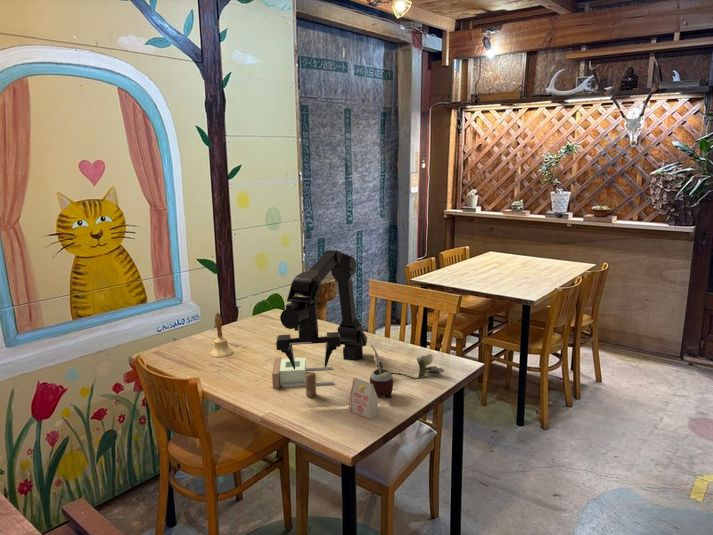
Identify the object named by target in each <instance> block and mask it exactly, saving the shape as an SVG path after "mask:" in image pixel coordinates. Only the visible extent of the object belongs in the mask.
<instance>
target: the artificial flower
mask: <svg viewBox="0 0 713 535" xmlns="http://www.w3.org/2000/svg"><path fill="white" fill-rule="evenodd" d="M433 361H434V359H433V355H432V353H430V354H427V355H426V354H425V355H422V356H421V357H416V362H417V364H418V367H419V370H418V371H419V372H418V376H417V377H414V376H411V375H407V374H403V373H400V372H399V373H397V372H393V371H390V372H391V374H392V375H397V376H404V377H407V378H410V379H413V380H419V379H421V378H423V377H425V376H426V373H427V372H428V371H429V372H434V371H435V372H436V373H443V372H444V371H445V370H444V369H443V368H442V367H438V366H435V365H432V366H430V365H431V364H433ZM379 364H380V369H384V368H383V363H382V361H379ZM376 368H377V369H379V368H378V363H377V362H376Z"/></svg>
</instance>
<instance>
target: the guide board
mask: <svg viewBox="0 0 713 535" xmlns="http://www.w3.org/2000/svg"><path fill="white" fill-rule="evenodd" d="M281 359H282V357H275V358H274V361H273V362H274V363H273V368H272V372H271V377H272V378H271V379H272V389H280V387H281V386H280V373H279V370H280V364H281ZM328 370H329V371H330V370H331V371H332V370H333V366H331V365H329V366H328V365H327V366H326V368H325V366H314V367H311V366H310V367H306V372H312V371H328ZM334 383H335V382H334V380H328V381H327V380H326V381H325V380H324V381H316V387H317V386H329V385H331V386H333V385H334ZM297 387H299V388H301V387H306V383H291V384H283V386H282V388H283V389H284V388H285V389H286V388H297Z"/></svg>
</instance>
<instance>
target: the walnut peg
mask: <svg viewBox="0 0 713 535" xmlns="http://www.w3.org/2000/svg"><path fill="white" fill-rule="evenodd" d="M305 380H306V386H305V395H306V398H308V399H313V398H314V399H315V398H316V397H317V386H316V382H317V381H316V380H317V379H316V373H315V372H312V371H308V372H306V374H305Z"/></svg>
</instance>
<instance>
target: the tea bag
mask: <svg viewBox="0 0 713 535" xmlns="http://www.w3.org/2000/svg"><path fill="white" fill-rule="evenodd" d="M349 394H350V396H349V397H350V398H349V399H350V400H349V401H350V413H351V414H353V415H356V416H359V417H361V418H363V419H366V420H369V421H370V420H372V419H373V418H374V417H377V416H378V395H377V394H376V392H375V389H374V386H373V384H371V383H370V382H367V381H365V380H361V379H358V378H355V377H354V378H353V380H352V385H351V389H350V393H349Z"/></svg>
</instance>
